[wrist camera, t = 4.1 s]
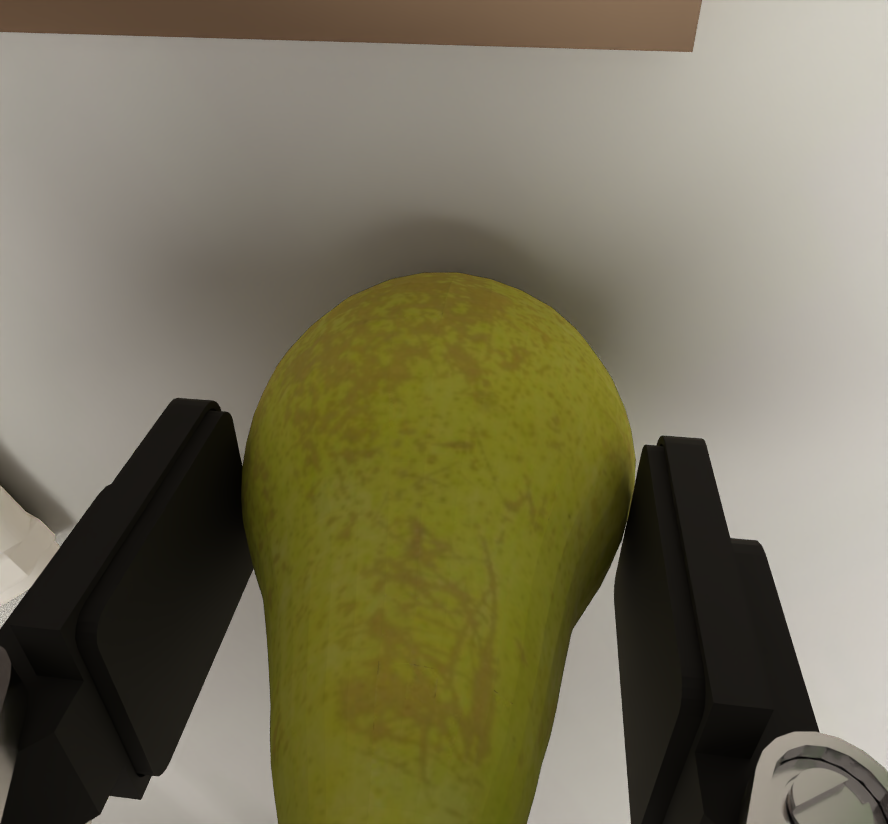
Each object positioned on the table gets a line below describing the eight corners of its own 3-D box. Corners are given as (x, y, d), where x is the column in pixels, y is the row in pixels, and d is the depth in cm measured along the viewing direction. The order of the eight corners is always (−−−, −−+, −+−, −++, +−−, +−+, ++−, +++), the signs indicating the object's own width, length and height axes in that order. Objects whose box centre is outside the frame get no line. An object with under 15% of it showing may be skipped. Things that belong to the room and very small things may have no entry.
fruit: (364, 487, 16) (87, 1391, 7) (264, 239, 13) (-567, 1300, 3) (634, 456, 15) (782, 1541, 5) (597, 172, 12) (804, 1636, 2)
